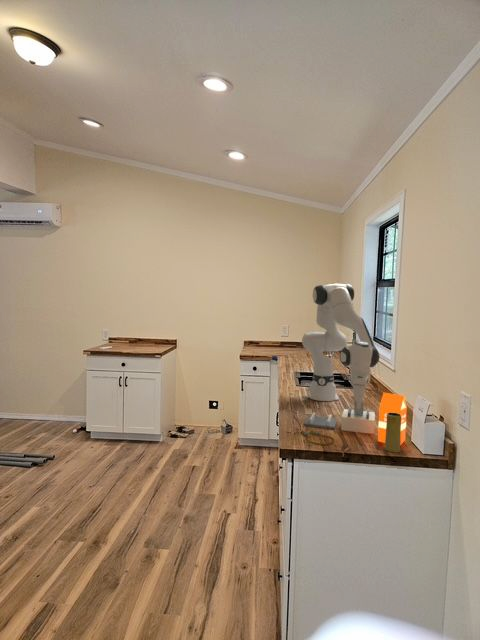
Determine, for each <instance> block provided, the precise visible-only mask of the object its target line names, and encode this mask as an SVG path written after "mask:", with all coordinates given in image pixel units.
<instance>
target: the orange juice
mask: <svg viewBox="0 0 480 640" xmlns="http://www.w3.org/2000/svg"><path fill="white" fill-rule="evenodd" d="M407 409H408V407H407V404H406V397H405V395H402V394H393V393H389V392H384V391H383V394H382V397H381V401H380V404H379V410H378V412H379V413H378V429H377V430H378V431H377V432H378V433H377V434H378V436H377V441H378V442H379V443H384V444H385V437H386V424H387V413H389V412H394V413H399V414H401V445H403V444H404V443H405V442H406V433H407V432H406V430H407V411H408V410H407ZM404 441H405V442H404ZM403 442H404V443H403ZM402 443H403V444H402Z"/></svg>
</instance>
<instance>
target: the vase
mask: <svg viewBox="0 0 480 640" xmlns="http://www.w3.org/2000/svg"><path fill="white" fill-rule="evenodd" d="M401 446H402V444H401V414H399V413H394V412H389V413H387V424H386V437H385V443H384V447H383V448H384V450H385V451H387V452H390V453H399V452H401V451H402V449H401Z"/></svg>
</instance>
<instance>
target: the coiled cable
mask: <svg viewBox="0 0 480 640" xmlns="http://www.w3.org/2000/svg"><path fill="white" fill-rule="evenodd" d="M300 434H302V435H303V436H306V437H305V439H306V438H307V439H306V442H308V441H309V442H308V443H310V442H311V444H313V445H317V446H331V445H334V442H335V440H334V437H332V436H329V435H325V434H321V433H320V432H318V431H316V430H313V429H311V430H309V433H308V431H307V430H303V429H302V430H301V431H300ZM309 434H311V435H309ZM312 435H313V436H321V437H324V438H329V439H331V440H332V441H331V442H328V443H319V442H315V441H311V440H309V438H310V437H312Z"/></svg>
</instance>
